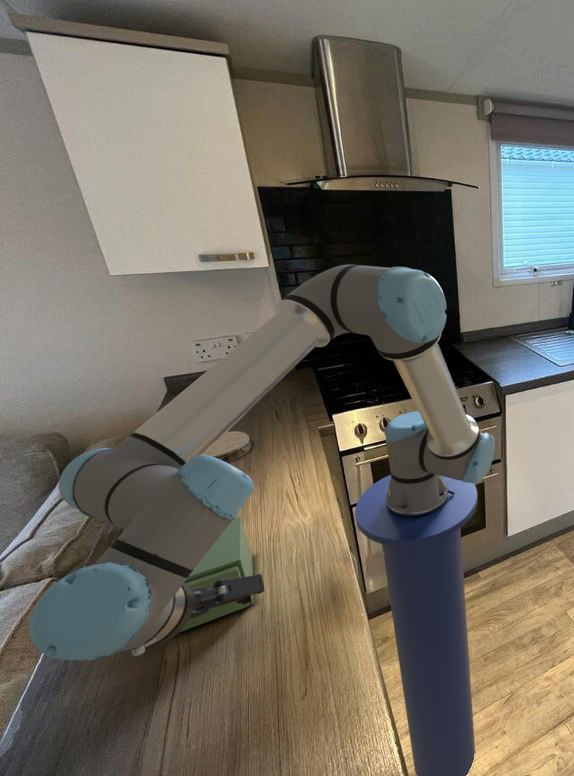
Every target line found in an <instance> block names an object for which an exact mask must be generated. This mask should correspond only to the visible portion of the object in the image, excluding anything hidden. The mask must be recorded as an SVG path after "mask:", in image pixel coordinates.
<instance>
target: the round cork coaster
mask: <svg viewBox="0 0 574 776" xmlns="http://www.w3.org/2000/svg"><path fill="white" fill-rule="evenodd" d="M251 446H252V444H251V440H250V436H249V435H248V433H245V432H243V431H237V430H236V431H235V430H233V431H227V432H226V433H225V434H224V435H223V436H222V437H221V438H220V439H219V440H218V441H217V442H216V443H215V444H214V445H213V446H212V447H211V448H210V449H209V450H208V451H207V452H206V453H205V454H206V455H209V456H212V457H215V458H217V459H220V460H222V461H224V462H226V463H229V462H233V461H235V460H237V459H239V458H241V457H242V456H243V455H246V453H248V452H249V451H250V449H251Z"/></svg>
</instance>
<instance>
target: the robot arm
mask: <svg viewBox="0 0 574 776" xmlns="http://www.w3.org/2000/svg"><path fill="white" fill-rule="evenodd" d="M447 309H448V308H447V301H446V297H445V294H444V292H443V290H442V287H441V285H440V284H439V282H438V281H437V280H436V279H435V278H434V277H433V276H432V275H430V274H429V273H427V272H426V271H423V270H420V269H413V268H410V267H405V266H393V267H386V266H385V267H384V266H383V267H382V266H372V265H361V264H360V265H359V264H343V265H338V266H334V267H332V268H328V269H326V270H324V271H322V272H320V273H318V274H316V275H315V276H313V277H311V278H309V279H308V280H306V281H305V282H303V283H301V284H300V285H298V287H296V288H295V289H294V290H292V291H291V292H289V293H288V294H287V295H285V296H284V297H282V299H280V301H278V302H277V304H276V306H275V313H274V315H273V316H271V317H270V318H269V319H268V320H267V321H265V322H264V323H263V324H262V325H260V326H259V327H258V328H257V329H256V330H255V331H253V332H252V333H250V335H248V337H246V338H245V339H244V340H243V341H241V342H240V343H239V344H237V345H236V346H235V347H234V348H233V349H231V351H229V352H228V353H227V354H226V355H224V357H222V358H221V359H219V360H218V361H217V362H216V363H215V364H214V365H213V366H211V367H210V368H209V369H208V370H206V371H205V372H204V373H203V374H201V376H199V377H198V378H197V379H196V380H194V381H193V382H191V384H190V385H189V386H187V387H186V388H185V389H184V390H183V391H181V392H180V393H179V394H177V395H176V396H175V397H174V398H173V399H171V400H170V401H169V402H168V403H167V404H166V405H164V406H163V407H162V408H160V409H159V410H158V411H157V412H156V413H155V414H153V416H151V417H150V418H149V419H148V420H146V421H145V422H144V423H143V424H142V425H140V426H139V427H138V428H137V429H135V430H134V431H133V432H132V433H130V435H128V436H127V437H126V438H124V439H123V440H122V441H121V442H120V443H118V444H117V445H116V446H115V447H101V448H96V449H93V450H89V451H87V452H85V453H82V454H80V455H78V456H76V457H75V458H74V459H73V460H71V461H70V462H69V463H68V464H67V466H66V467H65V468H64V470H63V471H62V472H61V475H60V477H59V480H58V491H59V494H60V496H61V498H62V499H63V501H64V502H65V503H66V504H67V505H69V506H71V507H72V508H74V509H75V510H78V511H79V513H81V514H82V515H83V516H86V517H88V518H94V519H98V520H100V521H103V522H104V523H107V524H110V525H112V526H115V527H117V528H119V529H121V530H122V532H121V534H119V536H118V537H117V538H116V539H115V541H114V542H112V544H111V545H110V546H109V547H108V548H107V549H106V551H104V553H103V554H102V555H101V556H100V557H99V558H98V559H97V560H96V561H95V562H94V564H93V565H88V566H84V567H82V568H79V569H77V570H75V571H73V572H71V573H69V574H67V575H66V576H63V577H61V579H58V581H56V582H54V583H53V585H51V586H50V587H49V588H48V589H46V591H45V592H44V593H43V594H42V596H41V597H40V598H39V600H38V601H37V603H36V605H35V606H34V608H33V610H32V613H31V615H30V618H29V626H28V631H29V632H28V633H29V637H30V640H31V642H32V645H33V646H34V647H35V648H36V650H37V651H39V652H40V653H42V654H43V655H44V656H47V657H48V658H50V659H51V658H52V659H56V660H63V661H64V660H65V661H73V660H74V661H77V662H83V661H94V660H100V659H101V660H102V659H103V658H106V657H108V656H111V655H116V654H123V653H129V652H131V655H132V656H133V657H138V656H141V655H143V654H144V653H145V652H146V650H150V649H153V648H156V647H160V646H161V645H163V644H165V643H167V642H169V641H170V640H172V639H173V638H175V637H176V636H177V635H178V634H180V633H181V632H180V631H181V630H182V628H183V627H184V626H185V625H186V623H187V622H188V620H189V619H192V618H195V617H198V616H201V615H203V614H205V613H207V612H208V610H209V609H212V608H215V607H218V606H222V605H225V604H229V603H232V602H236V601H237V603H240V604H247V603H250V602H252V598H251V595H253V596H254V595H260V594H262V593H264V592H265V583H264V578H263V574H262V573H257V574H253V576H248V577H242V578H236V579H231V580H222V579H221V580H218V581H217V582H215V583H214V584H213V585H212V587H213V588H211V589H206V588H205V587H199V588H195V589H190V588H189V587H188V586H187V585H186V584H185V583H184V582H185V581H186V580H187V579H188V576H189V575H190V574H191V573H192V571H193V570H194V569H195V567H196V566H197V565H198V563H199V562H200V561H201V560H202V558H203V557H204V556H205V555H206V553H207V552H208V551H209V550H210V548H211V547H212V546H213V545H214V543H215V542H216V541H217V539H218V538H219V537H220V536H221V534H222V533H223V532H224V531H225V529H226V528H227V527H228V526H229V524H230V523H231V522H232V521H233V520H234V519H236V518H238V514H239V512H240V511H241V509H242V508H243V506H244V504H245V503H247V500H248V499H249V497H250V496H251V495H252V493H253V492H254V489H255V484H254V480H253V479H251V477H250V476H249V475H248V474H246V473H245V472H243V470H240V469H239V468H237V467H236V466H234V465H232V464H230V463H229V462H224V461H222V460H220V459H217V458H215V457H212V456H209V455H206V454H205V453H206V452H207V451H208V450H209V449H210V448H211V447H212V446H213V445H214V444H215V443H216V442H217V441H218V440H219V439H220V438H221V437H222V436H223V435H224V434H225V433H226V432H229V431H230V430H231V429H232V428H233V427H234V426H235V425H236V424H237V423H238V422H239V421H240V420H241V419H242V418H243V417H245V415H247V413H248V412H249V411H250V410H252V408H254V407H255V405H256V404H257V403H259V402H260V401H261V400H262V399H263V398H264V397H265V396H266V395H267V394H268V393H269V392H270V391H271V390H272V389H273V388H274V387H275V386H276V385H278V384H279V382H280V381H281V380H282V379H284V377H286V376H287V374H289V373H290V372H291V371H292V370H293V369H294V368H295V367H296V366H297V365H298V364H299V363H300V362H301V361H302V360H303V359H304V358H305V357H306V356H307V355H308V354H309V353H310V352H312V351H313V350H314V348H323V347H326V346H327V345H328V344H329V343H330V342H331V341H332V340H333V339H335V338H336V337H337V336H338V337H339V336H341V335H343V334H348V333H349V334H350V333H351V334H358V335H366V336H368V337H369V338H370V339H371V341H372V342H373V344H374V346H375V348H376V350H377V352H378V354H379V355H380V356H381V357H382V358H383V359H386V360H389V361H392V362H393V363H394V366H395V368H396V370H397V372H398V373H399V375H400V378H401V379H402V382H403V383H404V385H405V387H406V389H407V391H408V393H409V395H410V398H411V399H412V402H413V404H414V405H415V407H416V409H417V411H411V412H407V413H403V414H401V415H397V416H396V417H394V418H393V419H391V420H390V421H389V422H388V423H387V425H386V426H385V444H386V451H387V457H388V464H389V471H390V475H391V480H390V484H389V487H387V491H388V492H387V496H386V502H387V508H388V510H389V511H390V512H391V513H392V514H394V515H396V516H398V517H402V518H419V517H424V516H427V515H430V514H432V513H434V512H436V511H438V510H439V509H441V508H442V507H443V506H444V505H445V503H446V502H447V500H448V493H450V494H452V495H454V493H455V492H452V491H450V490H448V486H447V484H446V482H445V480H444V478H443V476H444V477H448V478H452V479H456V480H459V481H463V482H464V483H465V482H468V483H473V484H474V485H475V484H478V483H480V482H482V481H483V480H484V478H485V477H486V476H487V474H488V472H489V470H490V468H491V466H492V463H493V459H494V455H495V450H496V441H495V440H496V439H495V438H494V436H493V435H492V434H490V433H488V432H482V431H481V430H480V428H479V426H478V423H477V421H476V420H475V419H474V418H473V417H472V416H470V415H468V414H466V410H465V409H464V405H463V404H462V401H461V398H460V396H459V394H458V391H457V388H456V386H455V382H453V378H452V376H451V373H450V371H449V368H448V366H447V363H446V360H445V358H444V356H443V352H442V350H441V347H440V345H439V343H438V342H439V341H440V339H441V337H442V332H443V330H444V328H445V325H446V322H447V314H446V310H447ZM194 611H196V612H194ZM192 612H194V613H192Z"/></svg>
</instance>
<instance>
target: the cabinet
mask: <svg viewBox="0 0 574 776" xmlns="http://www.w3.org/2000/svg"><path fill="white" fill-rule="evenodd" d="M251 551H252V550H251V548H250V543H249V540H248V537H247V534H246V530H245V527H244V522H243V519H242V517H241V516H240V517H236V518H235V519H234V520H233V521H232V522H231V523H230V524H229V526H228V527H227V528H226V529H225V531H224V532H223V533H222V534H221V536H220V537H219V538H218V539H217V541H216V542H215V543H214V545H213V546H212V547H211V548H210V550H209V551H208V552H207V553H206V555H205V556H204V557H203V558H202V560H201V561H200V562H199V563H198V565H197V566H196V567H195V569H194V570H193V571H192V573H191V574H190V575H189V576H188V579H187V580H186V581H189V580H192V579H194V578H197V577H200V576H203V575H206V574H209V573H212V572H215V571H218V570H221V569H224V568H227V567H230V566H233V565H238V569H239V572H240V575H241V578H242V577H248V576H253V575H254V573H253V570H254V569H253V556H252V552H251ZM186 581H185V582H186ZM251 598H252V602H250V603H248V606H251V605H253V604H254V595H251Z"/></svg>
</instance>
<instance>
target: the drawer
mask: <svg viewBox="0 0 574 776" xmlns="http://www.w3.org/2000/svg"><path fill="white" fill-rule="evenodd" d="M236 578H241V575H240V572H239V569H238V565H233V566H230V567H227V568H224V569H221V570H218V571H215V572H212V573H209V574H206V575H203V576H200V577H197V578H194V579H192V580H189V581H186V582H184V583H185V584H186V585H187V586H188V587H189V588H190V589H195V588H199V587H205V588H206V589H211V588H213V587H212V585H213V584H214V583H215V582H217V581H218V580H221V579H222V580H231V579H236ZM248 607H249V605H248V603H247V604H240V603H237V601H236V602H232V603H229V604H225V605H222V606H218V607H215V608H212V609H209V610H208V612H207V613H205V614H203V615H201V616H198V617H195V618H192V619H189V620H188V622H187V623H186V625H185V626H184V627H183V628H182V630H181V631H180V632H179V633H181V632H184V631H187V630H190V629H192V628H195V627H197V626H200V625H203V624H206V623H208V622H211V621H213V620H216V619H218V618H221V617H224V616H226V615H229V614H231V613H235V612H237V611H240V610H242V609H245V608H248ZM194 612H196V611H194ZM194 612H192V613H194Z"/></svg>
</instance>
